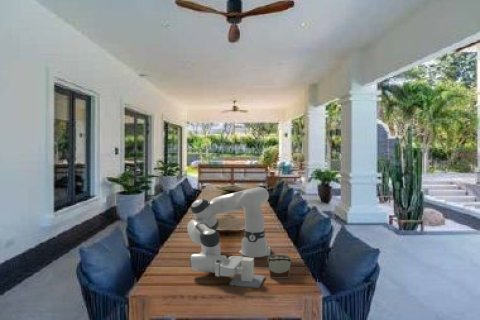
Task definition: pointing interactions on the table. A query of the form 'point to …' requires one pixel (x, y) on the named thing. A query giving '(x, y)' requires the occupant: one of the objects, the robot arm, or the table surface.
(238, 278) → the post stand
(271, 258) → the food container
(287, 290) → the table surface
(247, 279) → the tall white pillar
